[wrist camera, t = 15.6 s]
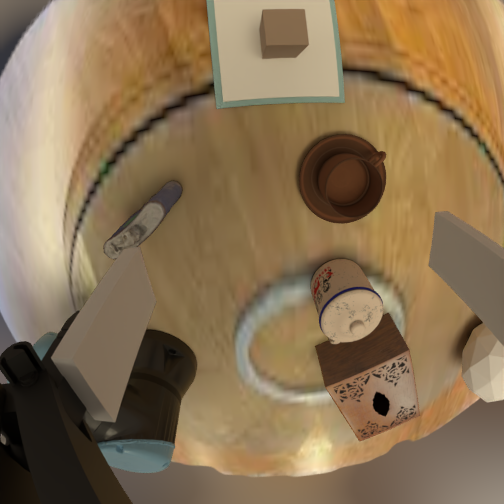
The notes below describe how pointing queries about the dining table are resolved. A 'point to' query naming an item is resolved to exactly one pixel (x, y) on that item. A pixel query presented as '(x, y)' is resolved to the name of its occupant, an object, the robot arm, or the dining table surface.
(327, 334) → the teacup with lid
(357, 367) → the tissue box cover
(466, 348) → the ball
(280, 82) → the lid
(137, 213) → the flask
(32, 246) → the dining table surface
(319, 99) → the mat
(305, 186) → the cup and saucer
